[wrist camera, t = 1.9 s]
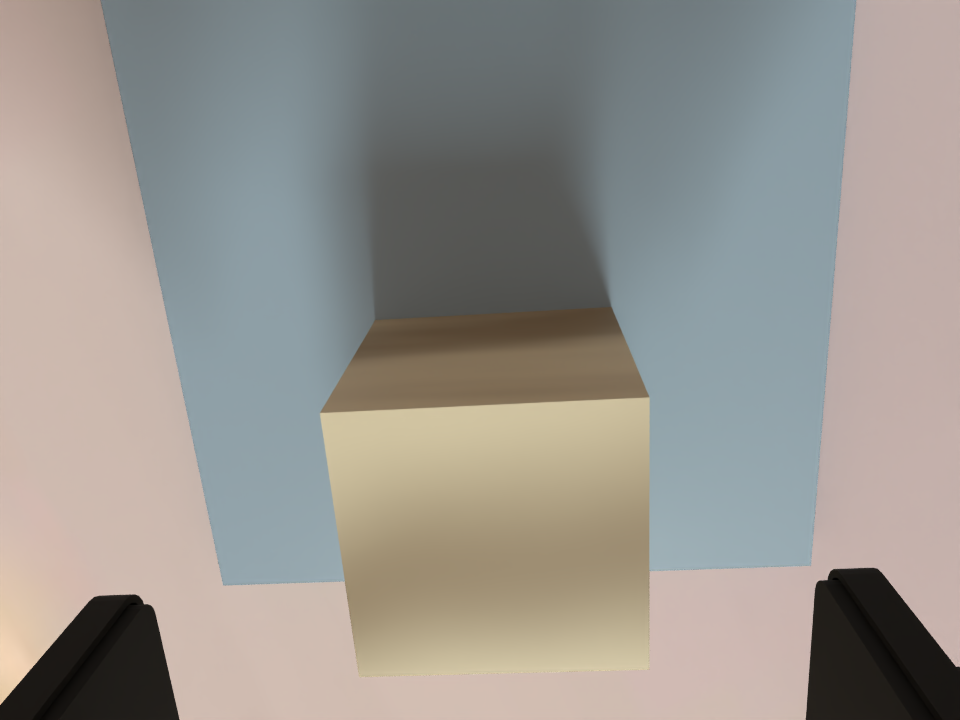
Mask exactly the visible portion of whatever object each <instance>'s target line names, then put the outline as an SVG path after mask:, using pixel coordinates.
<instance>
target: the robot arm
mask: <svg viewBox="0 0 960 720" xmlns="http://www.w3.org/2000/svg"><path fill="white" fill-rule="evenodd" d="M0 720H179V715H178V711H177V707H176V702H175V698H174V693H173V689H172V685H171V680H170V676H169V671H168V667H167V663H166V658H165V654H164V650H163V645H162V641H161V636H160V632H159V628H158V623H157V619H156V614H155V611H154V609H153V607H152V606H151V605H148V604H144V603H143V601H142V599H141V598H140V597H139V596H137V595H108V596H97V597H94V598H93V599H91V600H90V601H89V602H88V603H87V605H86V606H85V607H84V608H83V609H82V610H81V612H80V613H79V614H78V615H77V616H76V617H75V619H74V620H73V621H72V622H71V623H70V624H69V626H68V627H67V628H66V629H65V630H64V631H63V633H62V634H61V635H60V636H59V637H58V638H57V640H56V641H55V642H54V643H53V644H52V645H51V647H50V648H49V649H48V650H47V651H46V652H45V654H44V655H43V656H42V657H41V658H40V659H39V661H38V662H37V663H36V664H35V665H34V666H33V668H32V669H31V670H30V671H29V672H28V673H27V675H26V676H25V677H24V678H23V679H22V680H21V682H20V683H19V684H18V685H17V686H16V687H15V689H14V690H13V691H12V692H11V693H10V694H9V696H8V697H7V698H6V699H5V700H4V701H3V703H2V704H1V705H0ZM806 720H960V667H956V666H955V665H954V664H953V662H952V661H951V660H950V659H949V657H948V656H947V655H946V654H945V652H944V651H943V650H942V649H941V647H940V646H939V645H938V643H937V642H936V641H935V640H934V638H933V637H932V636H931V635H930V633H929V632H928V631H927V629H926V628H925V627H924V626H923V624H922V623H921V622H920V621H919V619H918V618H917V617H916V616H915V614H914V613H913V612H912V610H911V609H910V608H909V607H908V605H907V604H906V603H905V602H904V600H903V599H902V598H901V596H900V595H899V594H898V593H897V591H896V590H895V589H894V588H893V586H892V585H891V584H890V583H889V581H888V580H887V579H886V577H885V576H884V575H883V574H882V573H881V572H880V571H879V570H878V569H876V568H854V569H833V570H832V571H830V574H829V576H828V580H823V581H818V582H817V584H816V588H815V598H814V612H813V626H812V640H811V655H810V669H809V683H808V697H807V712H806Z"/></svg>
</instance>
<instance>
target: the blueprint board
mask: <svg viewBox="0 0 960 720" xmlns="http://www.w3.org/2000/svg"><path fill="white" fill-rule="evenodd" d="M101 4H102V9H103V14H104V19H105V23H106V28H107V33H108V38H109V42H110V47H111V52H112V57H113V61H114V66H115V71H116V76H117V81H118V85H119V90H120V95H121V100H122V104H123V109H124V114H125V119H126V124H127V128H128V133H129V138H130V143H131V147H132V152H133V157H134V162H135V166H136V171H137V176H138V181H139V186H140V190H141V195H142V200H143V205H144V209H145V214H146V219H147V224H148V229H149V233H150V238H151V243H152V248H153V252H154V257H155V262H156V267H157V271H158V276H159V281H160V286H161V291H162V295H163V300H164V305H165V310H166V314H167V319H168V324H169V329H170V334H171V338H172V343H173V348H174V353H175V357H176V362H177V367H178V372H179V376H180V381H181V386H182V391H183V396H184V400H185V405H186V410H187V415H188V419H189V424H190V429H191V434H192V439H193V443H194V448H195V453H196V458H197V462H198V467H199V472H200V477H201V482H202V486H203V491H204V496H205V501H206V505H207V510H208V515H209V520H210V524H211V529H212V534H213V539H214V544H215V548H216V553H217V558H218V563H219V567H220V572H221V577H222V582H223V585H250V584H280V583H310V582H340V581H345V579H344V572H343V565H342V559H341V552H340V545H339V539H338V532H337V525H336V518H335V512H334V505H333V498H332V492H331V485H330V478H329V472H328V465H327V458H326V451H325V445H324V438H323V431H322V425H321V418H320V412H321V410H322V409H323V407H324V405H325V404H326V402H327V400H328V398H329V397H330V395H331V393H332V392H333V390H334V388H335V387H336V385H337V383H338V382H339V380H340V378H341V377H342V375H343V373H344V372H345V370H346V368H347V367H348V365H349V363H350V361H351V360H352V358H353V356H354V355H355V353H356V351H357V350H358V348H359V346H360V345H361V343H362V341H363V340H364V338H365V336H366V335H367V333H368V331H369V330H370V328H371V326H372V325H373V323H374V321H375V320H385V319H403V318H421V317H439V316H457V315H475V314H493V313H511V312H530V311H548V310H566V309H584V308H602V307H612V309H613V311H614V314H615V316H616V319H617V321H618V323H619V326H620V328H621V330H622V333H623V335H624V338H625V340H626V342H627V345H628V347H629V350H630V352H631V354H632V357H633V359H634V361H635V364H636V366H637V369H638V371H639V373H640V376H641V378H642V380H643V383H644V385H645V388H646V390H647V392H648V395H649V397H650V492H649V571H668V570H698V569H728V568H757V567H787V566H811V557H812V545H813V532H814V520H815V507H816V495H817V483H818V470H819V458H820V445H821V433H822V420H823V408H824V395H825V383H826V370H827V358H828V345H829V333H830V320H831V308H832V296H833V283H834V271H835V258H836V246H837V233H838V221H839V208H840V196H841V183H842V171H843V158H844V146H845V133H846V121H847V109H848V96H849V84H850V71H851V59H852V46H853V34H854V21H855V9H856V0H101Z"/></svg>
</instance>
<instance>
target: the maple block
mask: <svg viewBox="0 0 960 720" xmlns="http://www.w3.org/2000/svg"><path fill="white" fill-rule="evenodd" d="M320 418H321V425H322V431H323V438H324V445H325V451H326V458H327V465H328V472H329V478H330V485H331V492H332V498H333V505H334V512H335V518H336V525H337V532H338V539H339V545H340V552H341V559H342V565H343V572H344V579H345V586H346V592H347V599H348V606H349V612H350V619H351V626H352V633H353V639H354V646H355V653H356V659H357V666H358V673H359V677H381V676H421V675H460V674H499V673H538V672H578V671H617V670H649V492H650V397H649V395H648V392H647V390H646V388H645V385H644V383H643V380H642V378H641V376H640V373H639V371H638V369H637V366H636V364H635V361H634V359H633V357H632V354H631V352H630V350H629V347H628V345H627V342H626V340H625V338H624V335H623V333H622V330H621V328H620V326H619V323H618V321H617V319H616V316H615V314H614V311H613V309H612V307H602V308H584V309H566V310H548V311H530V312H511V313H493V314H475V315H457V316H439V317H421V318H403V319H385V320H375V321H374V323H373V325H372V326H371V328H370V330H369V331H368V333H367V335H366V336H365V338H364V340H363V341H362V343H361V345H360V346H359V348H358V350H357V351H356V353H355V355H354V356H353V358H352V360H351V361H350V363H349V365H348V367H347V368H346V370H345V372H344V373H343V375H342V377H341V378H340V380H339V382H338V383H337V385H336V387H335V388H334V390H333V392H332V393H331V395H330V397H329V398H328V400H327V402H326V404H325V405H324V407H323V409H322V410H321V412H320Z"/></svg>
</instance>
